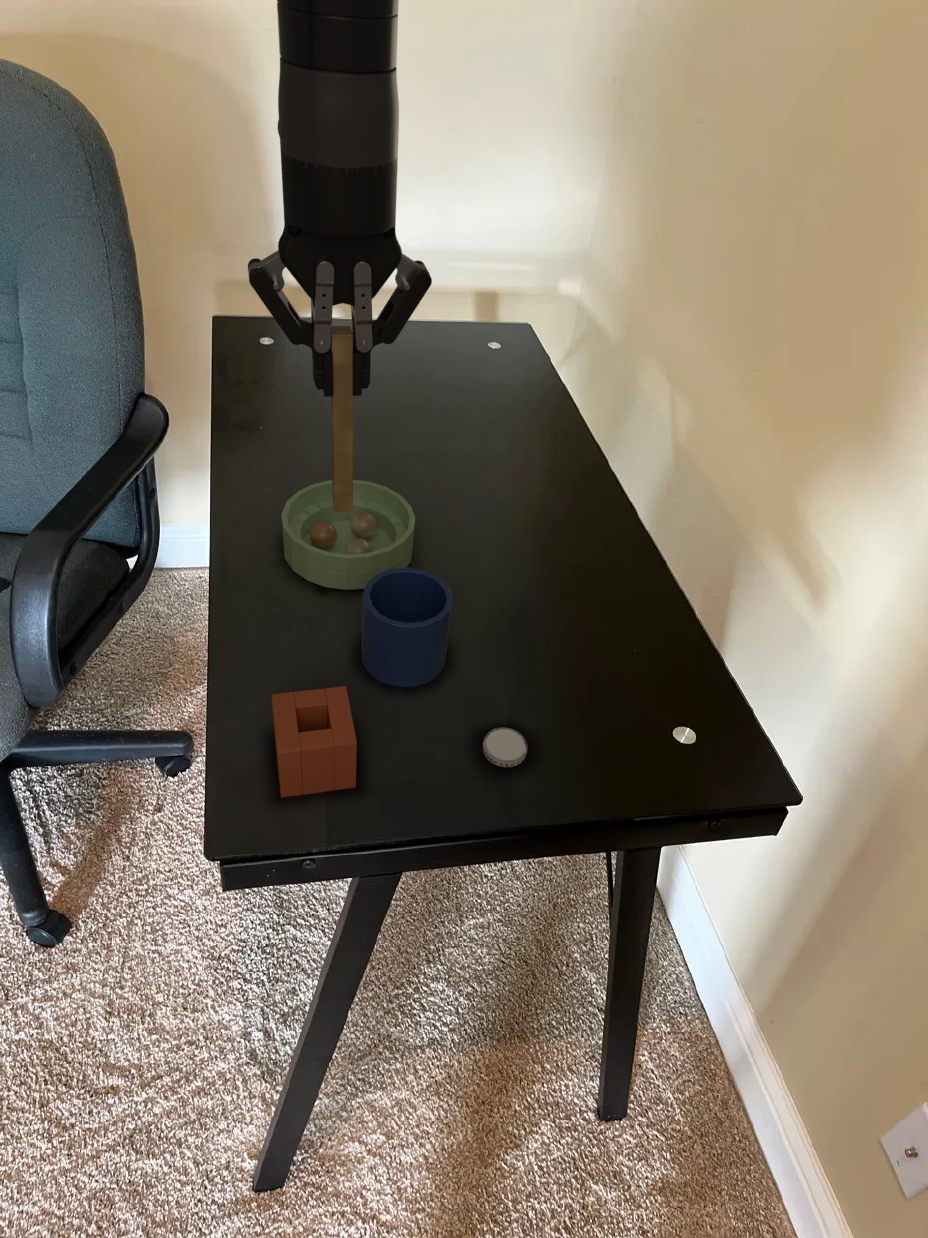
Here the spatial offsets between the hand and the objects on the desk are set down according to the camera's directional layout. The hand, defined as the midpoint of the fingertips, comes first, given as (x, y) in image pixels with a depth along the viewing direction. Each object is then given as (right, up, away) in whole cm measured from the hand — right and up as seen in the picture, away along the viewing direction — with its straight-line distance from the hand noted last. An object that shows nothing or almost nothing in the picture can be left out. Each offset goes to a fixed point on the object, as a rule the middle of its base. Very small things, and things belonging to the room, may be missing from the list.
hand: (342, 390), depth 65 cm
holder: (-3, -30, +6) cm, 31 cm away
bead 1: (-6, -9, +26) cm, 28 cm away
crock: (+4, -22, +17) cm, 28 cm away
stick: (-1, -8, +7) cm, 11 cm away
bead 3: (-2, -11, +25) cm, 27 cm away
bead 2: (-2, -7, +28) cm, 29 cm away
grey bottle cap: (+13, -30, +9) cm, 34 cm away
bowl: (-3, -10, +28) cm, 30 cm away
